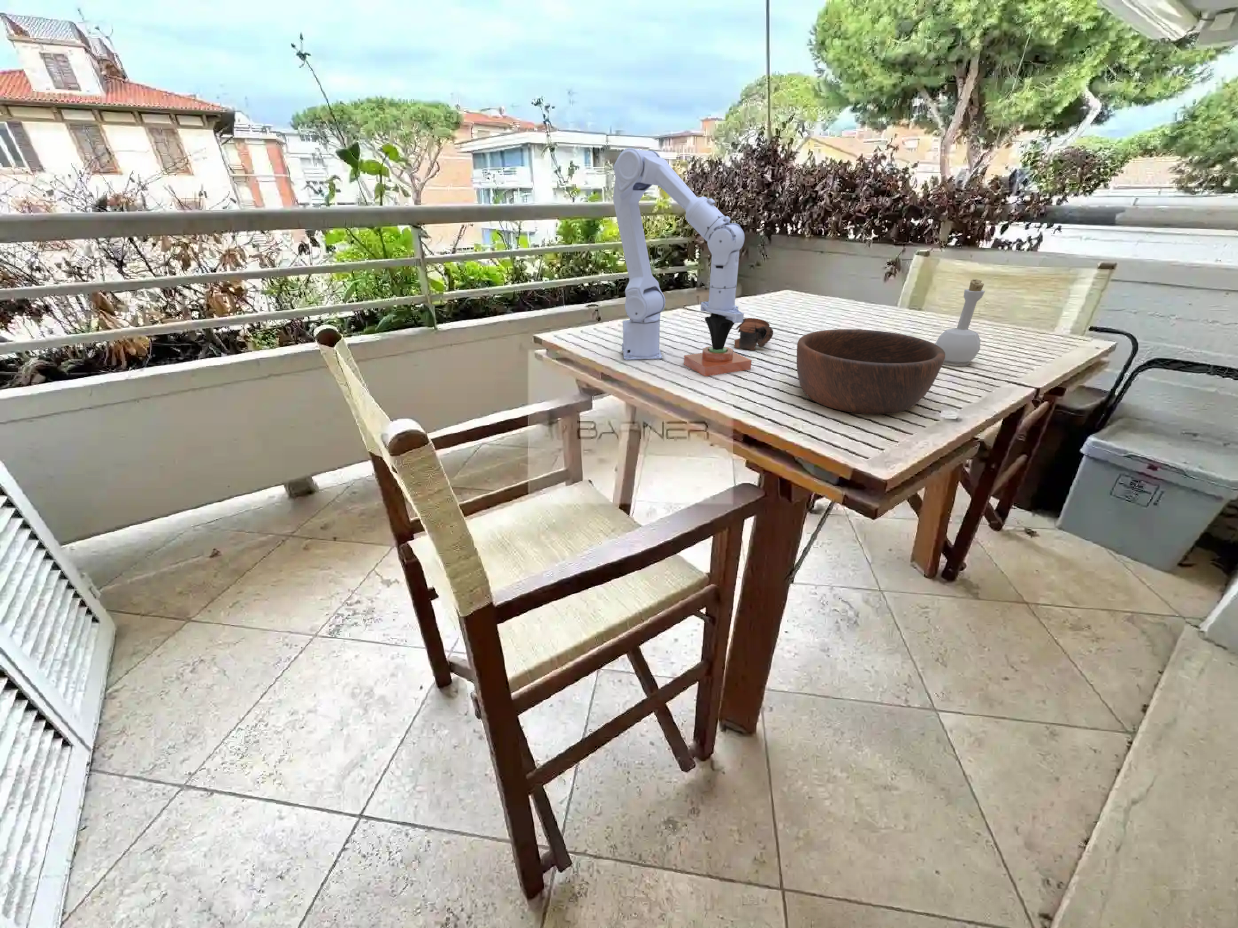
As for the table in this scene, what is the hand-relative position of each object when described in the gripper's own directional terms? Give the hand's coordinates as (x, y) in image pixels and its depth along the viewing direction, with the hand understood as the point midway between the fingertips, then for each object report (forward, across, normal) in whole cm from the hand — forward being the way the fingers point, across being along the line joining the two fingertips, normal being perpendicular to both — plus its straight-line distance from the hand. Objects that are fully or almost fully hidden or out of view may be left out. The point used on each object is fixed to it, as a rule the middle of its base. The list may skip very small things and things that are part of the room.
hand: (718, 348), depth 111 cm
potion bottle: (+5, -20, -51) cm, 55 cm away
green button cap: (+2, 0, 0) cm, 2 cm away
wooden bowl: (+5, -28, -15) cm, 32 cm away
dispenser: (+4, 0, 0) cm, 4 cm away
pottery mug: (+4, +11, -18) cm, 21 cm away
